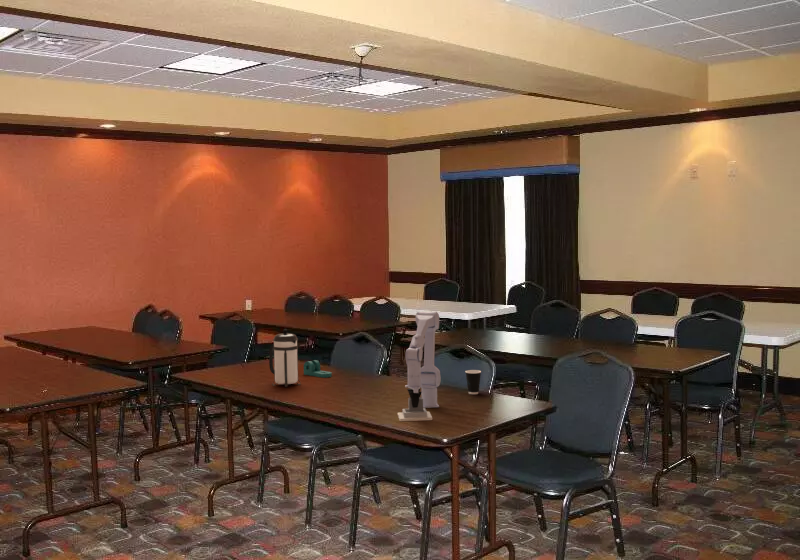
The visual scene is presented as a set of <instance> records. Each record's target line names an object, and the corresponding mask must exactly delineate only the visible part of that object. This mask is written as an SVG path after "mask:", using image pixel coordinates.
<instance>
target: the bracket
mask: <svg viewBox="0 0 800 560" xmlns="http://www.w3.org/2000/svg"><path fill="white" fill-rule="evenodd" d="M332 373H333V372H331V371H325V370H322V369H321V363H320V361H319V360H318V359H317V360H316V359H314V360H310V361H309V360H307V361H305V362H304V363H303V375H304V376H311V377H316V378H317V377H318V378H324V379H327V378H332V376H333V374H332Z"/></svg>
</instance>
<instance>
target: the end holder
mask: <svg viewBox="0 0 800 560" xmlns="http://www.w3.org/2000/svg"><path fill="white" fill-rule="evenodd" d="M401 411H402V412H397V417H398V420H399V421H400V422H413V421H418V422H419V421H432V420H433V416H432V414H431V412H430V411H427V409H426V408H423V411H409V409H408V408H402V410H401Z"/></svg>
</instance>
